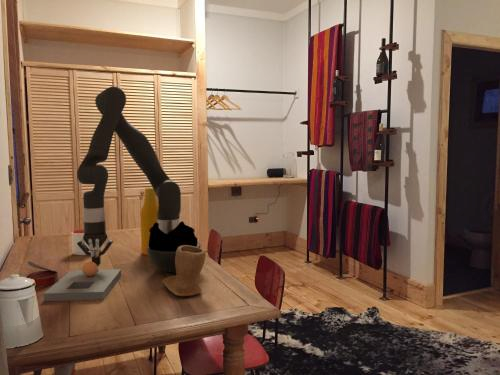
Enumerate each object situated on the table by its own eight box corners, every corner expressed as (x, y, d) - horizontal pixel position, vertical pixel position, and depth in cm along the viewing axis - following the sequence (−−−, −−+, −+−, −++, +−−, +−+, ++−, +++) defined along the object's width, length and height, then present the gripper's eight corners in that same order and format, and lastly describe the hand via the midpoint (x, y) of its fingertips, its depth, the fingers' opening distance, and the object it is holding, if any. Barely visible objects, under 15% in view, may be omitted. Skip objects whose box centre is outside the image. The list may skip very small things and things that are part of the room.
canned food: (30, 294, 150) (28, 267, 153) (61, 287, 154) (58, 261, 157) (23, 289, 140) (21, 260, 143) (56, 282, 144) (53, 254, 147)
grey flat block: (121, 275, 156) (121, 269, 155) (103, 299, 132) (103, 291, 132) (71, 277, 154) (70, 270, 154) (44, 301, 131) (43, 293, 130)
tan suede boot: (211, 295, 136) (210, 249, 134) (175, 301, 130) (174, 253, 129) (195, 281, 149) (194, 239, 147) (161, 286, 144) (160, 243, 142)
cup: (100, 250, 193) (99, 229, 192) (90, 256, 183) (89, 233, 182) (79, 250, 194) (78, 228, 193) (68, 255, 184) (67, 233, 183)
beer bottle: (164, 254, 186) (162, 188, 183) (142, 256, 183) (140, 189, 180) (160, 249, 195) (159, 186, 192) (140, 251, 191) (138, 187, 188)
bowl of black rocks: (211, 268, 164) (210, 220, 163) (177, 283, 147) (176, 229, 145) (171, 261, 175) (170, 216, 173) (136, 274, 157) (134, 224, 156)
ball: (99, 273, 150) (99, 259, 150) (95, 277, 146) (94, 263, 145) (85, 273, 150) (84, 259, 150) (80, 278, 145) (79, 263, 145)
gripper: (115, 217, 158) (117, 262, 160) (79, 218, 157) (81, 263, 159) (110, 221, 151) (112, 268, 152) (72, 221, 150) (74, 269, 152)
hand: (96, 266), depth 156 cm, fingers closed
